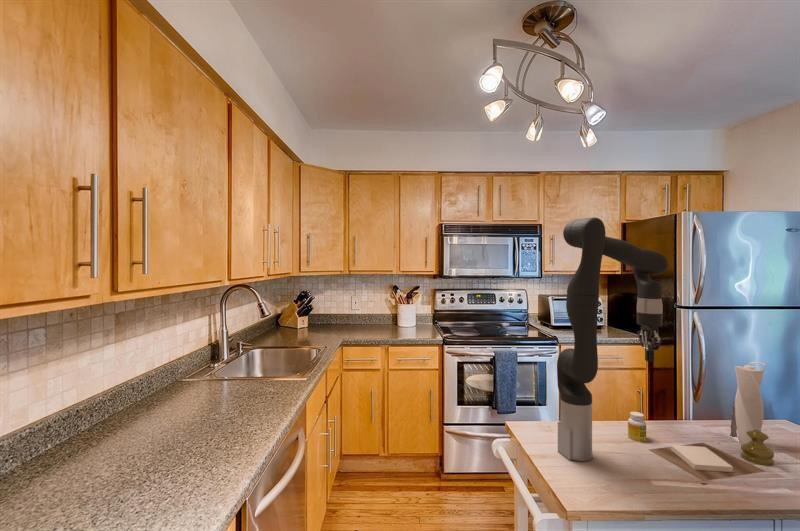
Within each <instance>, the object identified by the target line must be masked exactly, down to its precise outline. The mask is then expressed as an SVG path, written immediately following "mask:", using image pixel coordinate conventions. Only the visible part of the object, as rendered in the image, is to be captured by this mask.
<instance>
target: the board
mask: <svg viewBox="0 0 800 531" xmlns="http://www.w3.org/2000/svg"><path fill="white" fill-rule="evenodd" d="M680 446H698V447H706V448H707V449H709V450H710V451H712V452H713V453H714V454H716V455H717V456H718V457H720V458H721V459H723V460H724V461H725V462H727V463H728V464H729V465H731V466H732V467H733V472H723V471H707V470H694V469H693V468H692V467H691V466H690V465H688V464H687V463H686V462H685V461H684V460H683V459H681V458H680V457H679V456H678V455H677V454H676V453H674V452H673V451H672V450H671V446H666V447H665V446H664V447H658V448H650V449H648V451H650V452H652V453H653V454H655V455H656V456H658V457H661V458H662V459H664V460H666V461H667V462H669V463H671V464H673V465H675V466H677V467H678V468H680V469H682V470H683V471H685V472H687V473H689V474H691V475H692V476H694V477H696V478H698V479H699V480H701V481H704V482H705V481H710V480H718V479H725V478H731V477H737V476H744V475H749V474H750V475H751V474H757V473H763V472H764V473H765V470H764V469H762V468H759V467H757V466H755V465H754V464H751V463H750V462H749V463H748V461H746V460H745V461H744V460H742V459H740V458H738V457H736V456H735V455H734V456H733V455H732V454H729V453H727V452H724V451H723V450H721V449H718V448H716V447H715V446H712V445H710V444H708V443H705V442H698V443H689V444H681V445H680ZM700 484H701V485H703V486H707V485H708V483H702V482H701V483H700Z"/></svg>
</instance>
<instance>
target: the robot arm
mask: <svg viewBox="0 0 800 531" xmlns="http://www.w3.org/2000/svg"><path fill="white" fill-rule="evenodd" d="M562 233H563V234H562V235H563V239H564V241H565V243H567V245H569V246H571V247H573V248H577V249H581V258H580V263H579V265H578V267H577V269H576V271H575V272H574V274H573V276H572V277H571V279H570V281H569V283H568V285H567V288H566V302H565V308H566V313H567V316H568V320H569V322H570V326H571V328H572V331H573V332H572V333H573V336H574V337H573V338H574V339H573V341H574V343H573V344H574V346H573V348H571V347H570V348H569V347H568V348H565V349H563V350H562V351H561V352H560V353H559V354H558V356H557V361H556V379H557V388H558V392H559V395H560V396H559V397H560V410H559V411H560V413H559V414H560V415H559V416H560V421H558V422H557V452H558V453H560V454H561V455H562V456H563V457H565V458H567V460H568V461H579V462H587V461H591V460H592V459H593V394H592V392H591V391H590V390H589V389H588V387H587V385H586V384H589V383H591V382H593V381H594V380H595V378H596V376H597V374H598V370H599V369H598V368H599V355H598V354H599V353H598V339H597V338H598V337H597V336H598V335H597V334H598V332H597V331H598V314H599V312H598V311H599V301H600V279H601V267H602V266H601V265H602V261H603V256H604V257H608V258H610V259H612V260H615V261H617V262H618V263H621V264H623V265H626V266H628V267H632V272H633V275H634V278H635V282H636V285H637V302H636V324H637V325H639V326H640V330H639V331H636V332H637V333H636V334H637V337H638V340H639V344H640V346H641V347H642V348H643V349H644V360H645V361H646V362H648V363H649V362H650V363H651V362H654V361H655V351H659V348H660V347H661V345H662V343H663V341H664V339H663V337H662V336H661V337H660V336H659V334H660V333H659V332H660V331H659V327H662V326H663V321H664V320H663V316H664V315H663V311H664V310H663V309H664V308H663V307H664V306H663V301H662V300H663V289H662V288H663V287H662V286H663V285H662V283H661V282H659V281H657V280H653V279H652V278H651V276H650V275H661V274H663V273H665V272H666V271H667V270H668V267H669V261H668V259H667V257H666V256H665V255H664V254H662V253H661V252H657V251H654V250H650V249H645V248H642V247H639V245H638V246H637V245H635V244H633V243H631V242H629V241H626V240H622V239H619V238H614V237H612V236H611V237H610V236H606V226H605V224H604V221H603V220H602V219H600V218H599V217H587V218H580V219H573V220H571V221H569V222H568V223H566V224H565V226H564V227H563V230H562Z"/></svg>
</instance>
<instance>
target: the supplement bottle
mask: <svg viewBox="0 0 800 531" xmlns="http://www.w3.org/2000/svg"><path fill="white" fill-rule="evenodd" d="M644 419H645V415H644V414H643V413H641V412H638V411H630V412H629V418H628V419H627V437H628V439H629V440H631V441H634V442H640V443H645V442H647V422H646V420H644Z"/></svg>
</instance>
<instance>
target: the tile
mask: <svg viewBox="0 0 800 531" xmlns="http://www.w3.org/2000/svg"><path fill="white" fill-rule="evenodd" d="M670 447H671V450H672V451H673V452H674V453H676V454H677V455H678V456H679V457H680V458H681V459H683V460H684V461H685V462H686V463H687V464H688V465H690V466H691V467H692V468H693V469H694V470H707V471H723V472H733V467H732V466H731V465H729V464H728V463H727V462H725V461H724V460H723V459H721V458H720V457H718V456H717V455H716V454H714V453H713V452H712V451H710V450H709V449H707V448H706V447H698V446H680V445H675V444H671V445H670Z"/></svg>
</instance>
